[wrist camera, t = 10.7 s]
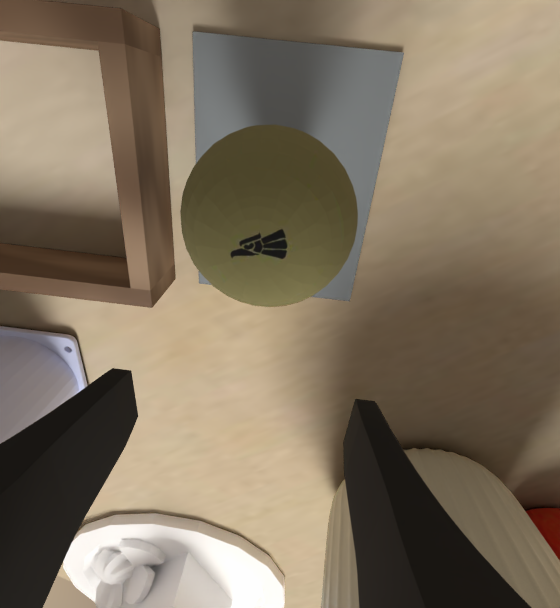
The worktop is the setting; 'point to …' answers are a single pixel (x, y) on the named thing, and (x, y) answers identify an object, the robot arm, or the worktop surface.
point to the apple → (548, 526)
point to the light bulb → (269, 215)
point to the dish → (170, 565)
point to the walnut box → (126, 154)
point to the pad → (300, 107)
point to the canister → (472, 522)
